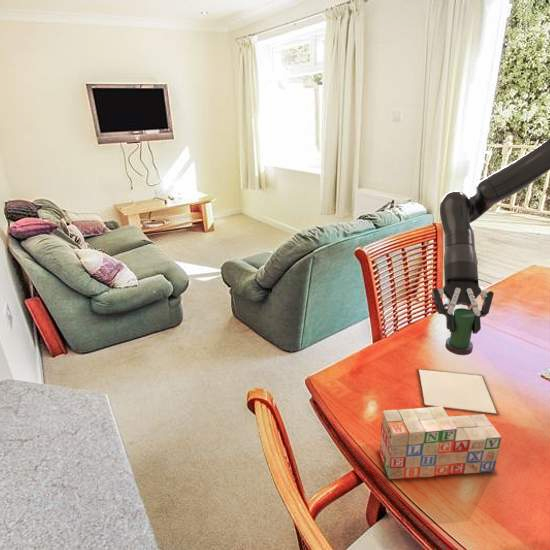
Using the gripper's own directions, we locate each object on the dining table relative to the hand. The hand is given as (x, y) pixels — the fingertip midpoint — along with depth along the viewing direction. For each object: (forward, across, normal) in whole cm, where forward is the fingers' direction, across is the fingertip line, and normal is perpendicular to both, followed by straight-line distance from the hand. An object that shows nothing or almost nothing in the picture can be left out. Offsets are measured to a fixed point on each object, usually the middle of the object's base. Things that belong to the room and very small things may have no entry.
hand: (463, 331), depth 88 cm
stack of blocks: (+29, +7, +2) cm, 30 cm away
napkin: (+12, -1, -14) cm, 19 cm away
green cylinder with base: (+3, 0, -6) cm, 6 cm away
